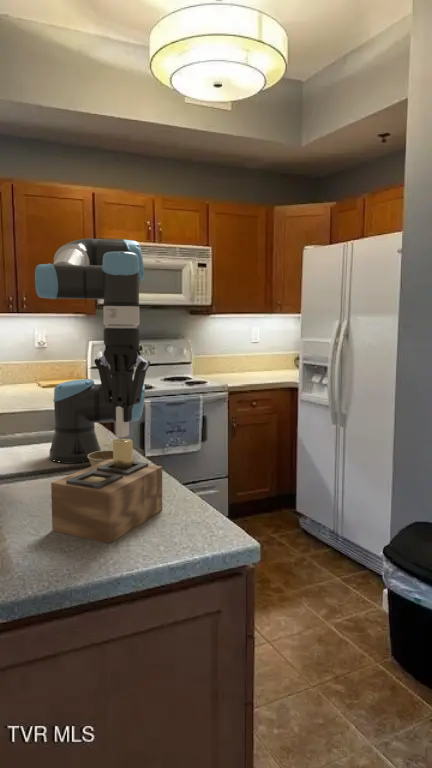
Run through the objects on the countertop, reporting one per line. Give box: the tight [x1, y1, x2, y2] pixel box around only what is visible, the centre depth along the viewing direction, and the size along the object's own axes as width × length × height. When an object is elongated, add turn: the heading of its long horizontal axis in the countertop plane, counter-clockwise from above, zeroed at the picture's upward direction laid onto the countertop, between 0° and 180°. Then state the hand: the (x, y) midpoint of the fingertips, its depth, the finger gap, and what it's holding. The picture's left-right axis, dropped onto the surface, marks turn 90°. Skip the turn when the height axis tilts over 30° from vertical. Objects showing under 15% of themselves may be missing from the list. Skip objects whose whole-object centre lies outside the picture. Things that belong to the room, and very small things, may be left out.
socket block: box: [50, 459, 163, 544], centre depth 116 cm, size 20×14×11 cm
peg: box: [112, 438, 134, 470], centre depth 120 cm, size 4×4×8 cm
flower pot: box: [87, 449, 113, 467], centre depth 137 cm, size 9×9×9 cm
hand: (122, 435), depth 119 cm, fingers closed
